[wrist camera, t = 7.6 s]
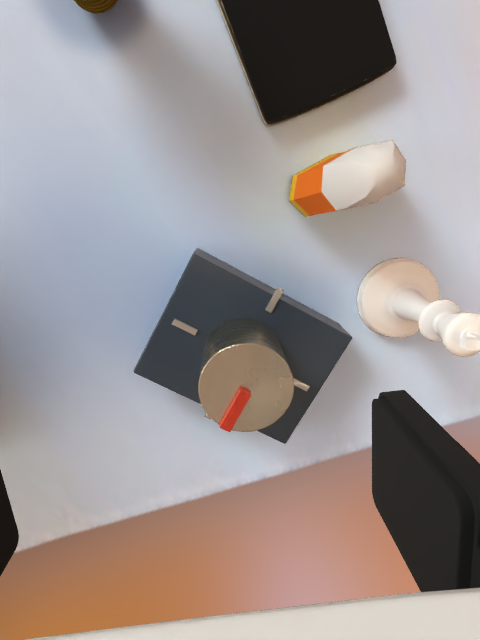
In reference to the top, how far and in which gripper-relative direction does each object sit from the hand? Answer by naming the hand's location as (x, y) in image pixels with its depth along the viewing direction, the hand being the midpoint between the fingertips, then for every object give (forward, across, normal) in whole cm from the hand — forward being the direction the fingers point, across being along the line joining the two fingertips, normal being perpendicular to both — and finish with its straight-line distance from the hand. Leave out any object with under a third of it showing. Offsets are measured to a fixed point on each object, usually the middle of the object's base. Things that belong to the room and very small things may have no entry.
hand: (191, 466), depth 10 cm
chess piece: (+16, -12, +1) cm, 20 cm away
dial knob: (+13, -2, +2) cm, 13 cm away
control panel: (+16, -2, +2) cm, 16 cm away
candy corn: (+16, -8, -7) cm, 19 cm away
